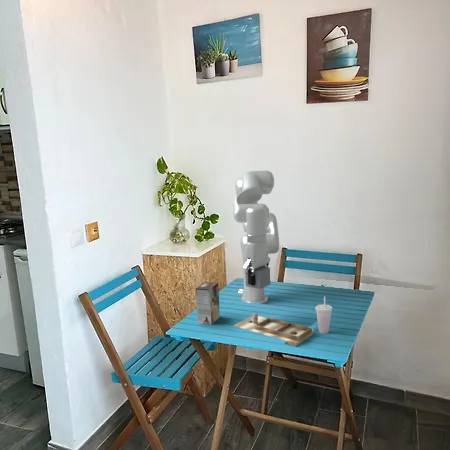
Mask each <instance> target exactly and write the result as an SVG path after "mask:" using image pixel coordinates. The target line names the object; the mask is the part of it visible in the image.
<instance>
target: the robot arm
mask: <svg viewBox="0 0 450 450" xmlns="http://www.w3.org/2000/svg"><path fill="white" fill-rule="evenodd" d="M234 185H235V193H236V196H235V198H234V200H233V203H232V207H233V211H232V212H233V218H234V220H235V221H236V222H237V223H239V224H242V228H243V231H244V232H245V233H246V234H244V235H242V236H241V238H240V248H241V256H242V270H243V288H239V289H238V292H237V294H238V295H241V298H240V301H242V302H244V303H249V304H253V303H254V304H262V305H263V304H266V303H267V302H268V301H269V297H268V296H267V295H265V287H264V288H262V289H256V288H252V287H247V286H246V280H245V272H246V273H247V275H248V284H249V285H255V275H254V273H255V269H256V268H259V267H261V266H264V267H269V265H270V262H271V257H269V255H272V254H273V255H275V254H276V253H278V252H279V250H280V237H279V227H278V220H277V217H276V215H275V214H274V213H272V212H270V209H269V207H268V205H266V204H265V203H258V202H259V201H260V200H261V199H262V196H263V195H268V194H269V195H270V194H271V193H272V191H273V189H274V186H275V178H274V175H273V173H272V172H271V171H270V170H250V171H246V172H244V173H243V175H242V177H240V178H239V179H237V180H236V181H235V184H234ZM251 269H252V272H251Z"/></svg>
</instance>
